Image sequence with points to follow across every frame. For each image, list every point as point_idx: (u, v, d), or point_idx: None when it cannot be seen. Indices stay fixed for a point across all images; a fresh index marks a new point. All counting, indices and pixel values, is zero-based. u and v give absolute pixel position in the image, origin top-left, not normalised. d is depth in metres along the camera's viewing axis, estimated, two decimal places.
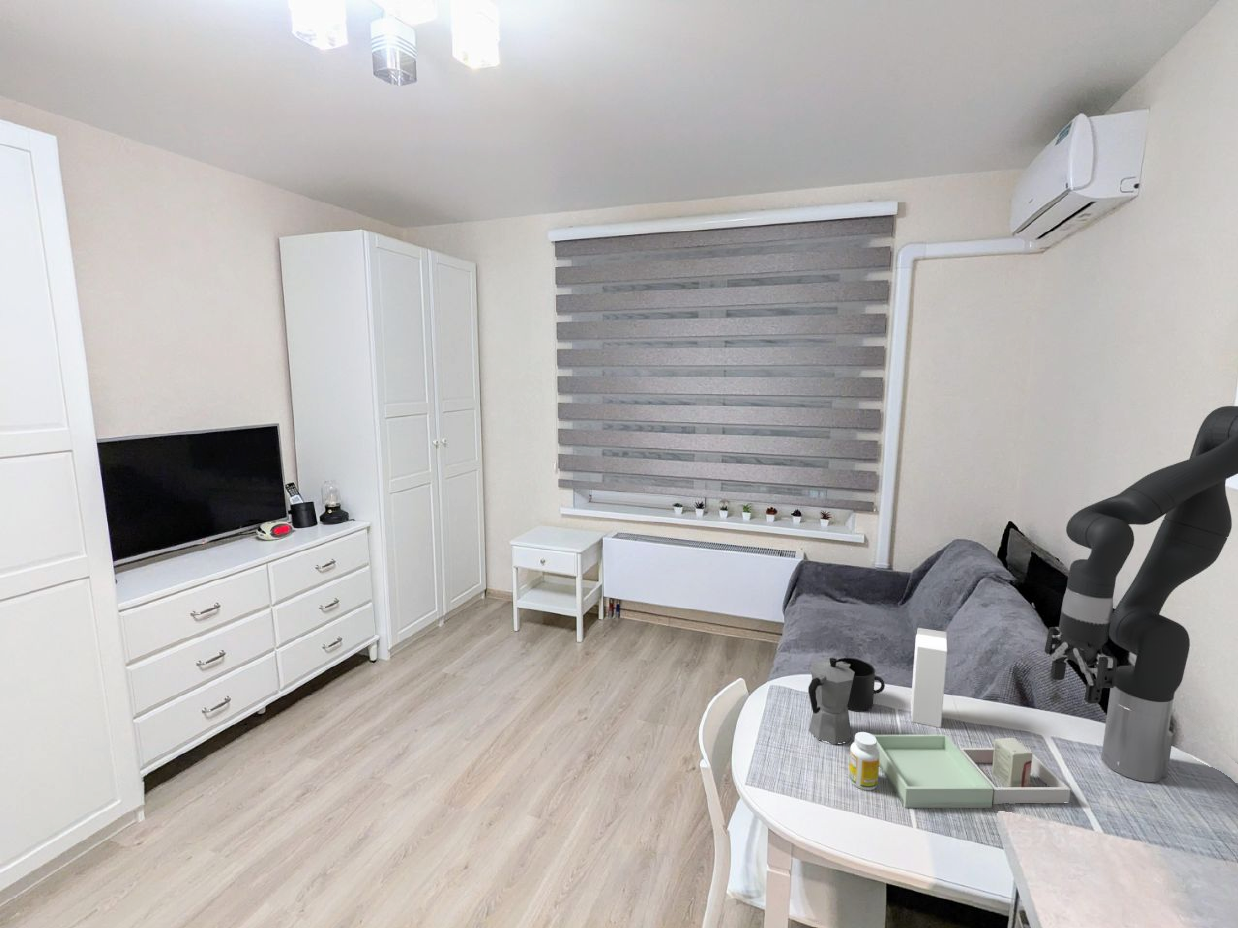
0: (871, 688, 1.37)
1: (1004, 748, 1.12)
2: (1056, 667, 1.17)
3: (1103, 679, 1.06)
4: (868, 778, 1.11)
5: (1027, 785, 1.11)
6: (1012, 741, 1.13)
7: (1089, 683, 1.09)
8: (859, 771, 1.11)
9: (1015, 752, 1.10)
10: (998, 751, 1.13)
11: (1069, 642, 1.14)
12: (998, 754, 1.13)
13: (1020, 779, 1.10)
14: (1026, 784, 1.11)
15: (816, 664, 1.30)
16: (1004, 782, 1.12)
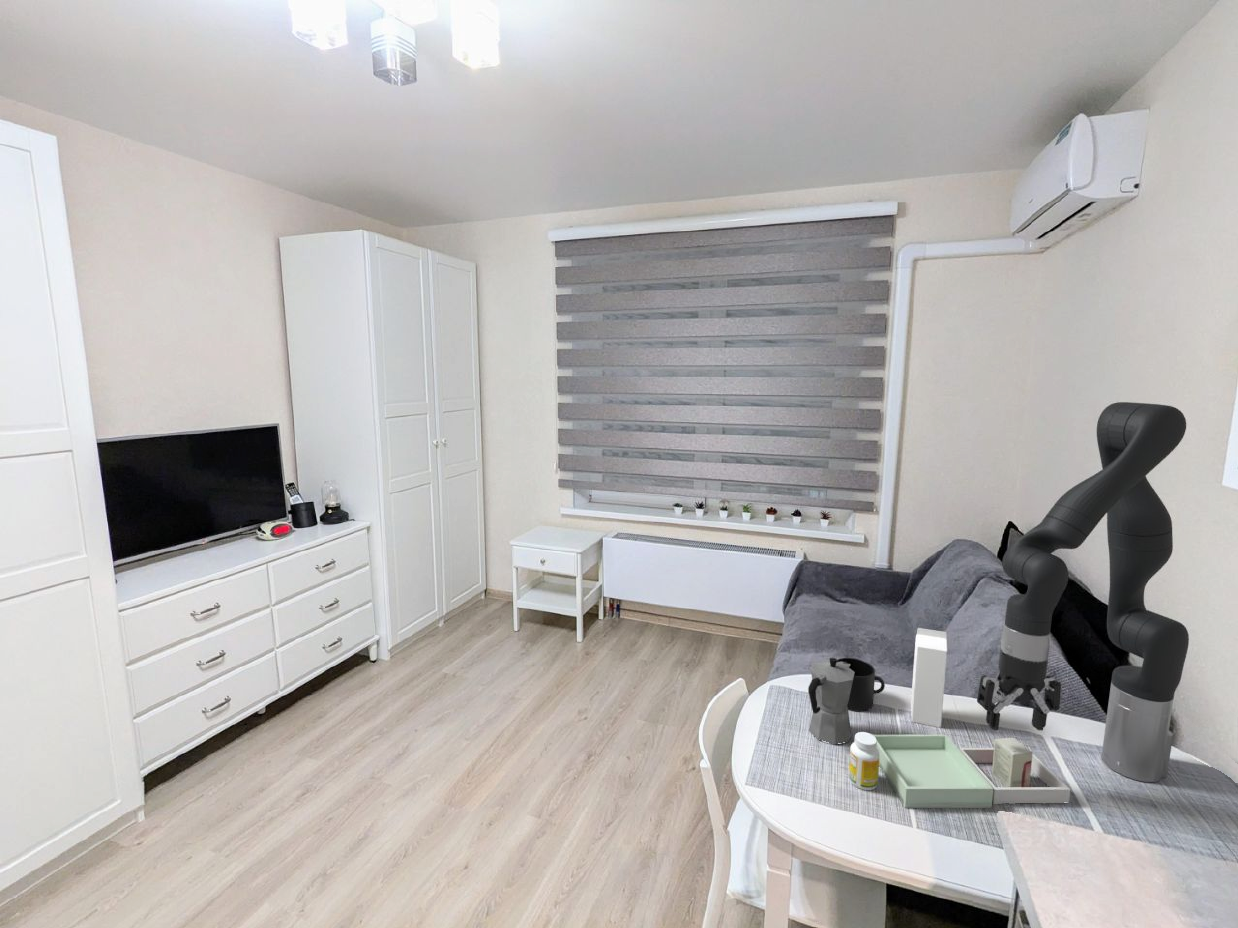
0: (871, 688, 1.37)
1: (1004, 748, 1.12)
2: None
3: None
4: (868, 778, 1.11)
5: (1027, 785, 1.11)
6: (1012, 741, 1.13)
7: (1046, 712, 1.09)
8: (859, 771, 1.11)
9: (1015, 752, 1.10)
10: (998, 751, 1.13)
11: (1018, 686, 1.08)
12: (998, 754, 1.13)
13: (1020, 779, 1.10)
14: (1026, 784, 1.11)
15: (816, 664, 1.30)
16: (1004, 782, 1.12)
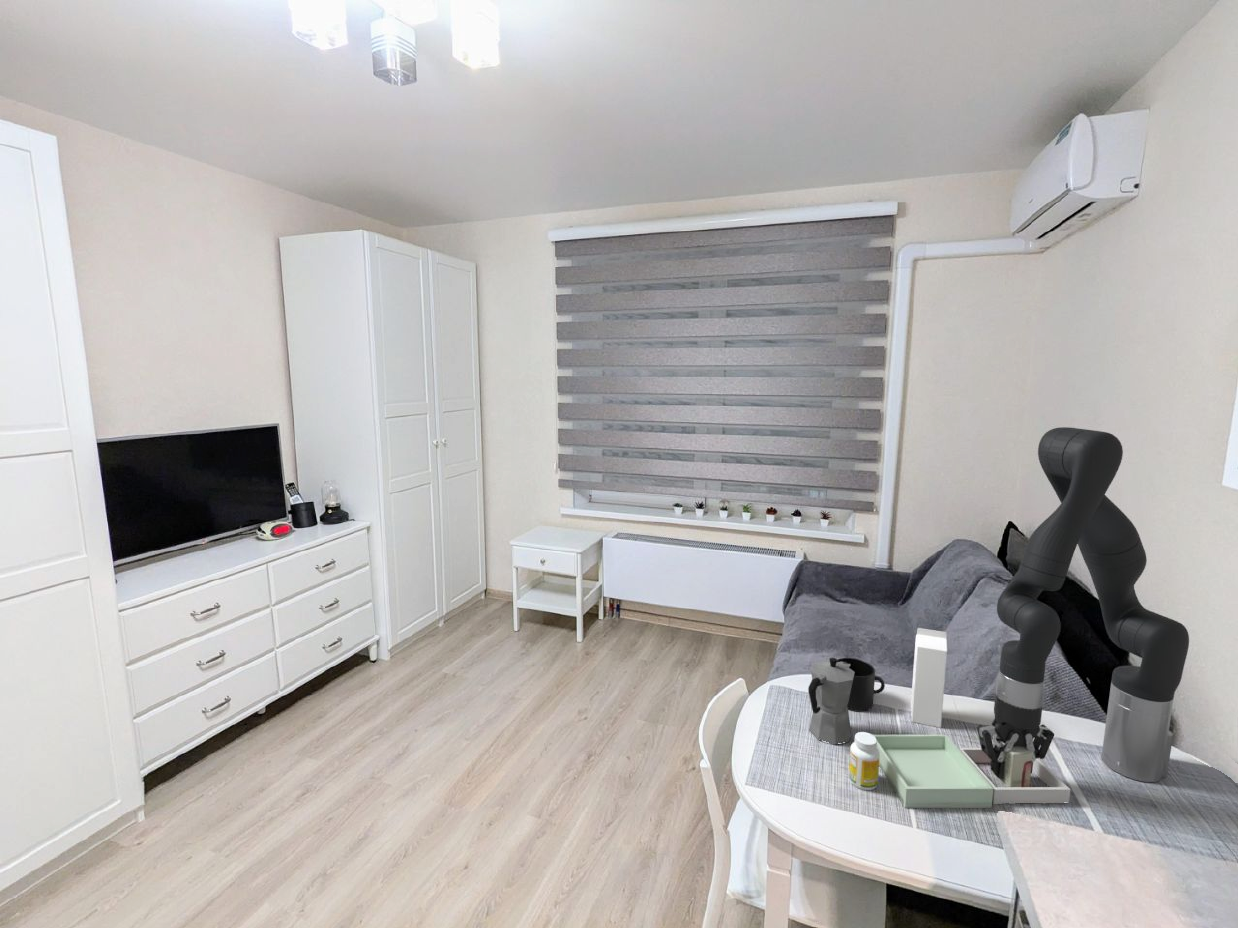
0: (871, 688, 1.37)
1: None
2: None
3: None
4: (868, 778, 1.11)
5: (1027, 785, 1.11)
6: None
7: None
8: (859, 771, 1.11)
9: (1015, 751, 1.10)
10: (998, 751, 1.13)
11: (1012, 731, 1.10)
12: None
13: (1020, 779, 1.10)
14: (1026, 784, 1.11)
15: (816, 664, 1.30)
16: (1004, 782, 1.12)
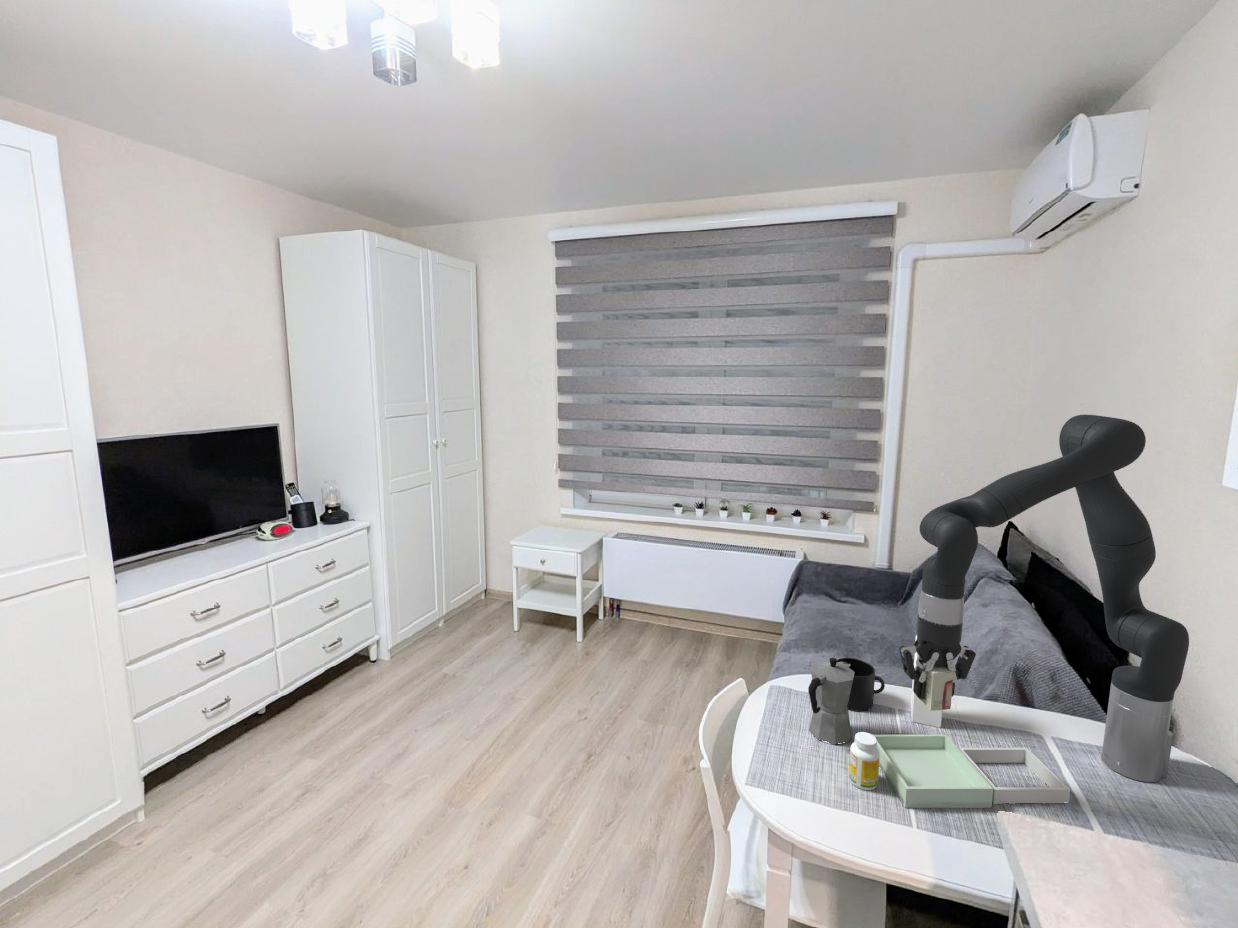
0: (871, 688, 1.37)
1: None
2: None
3: None
4: (868, 778, 1.11)
5: (948, 705, 1.09)
6: None
7: (953, 681, 1.10)
8: (859, 771, 1.11)
9: (936, 671, 1.09)
10: None
11: (933, 650, 1.09)
12: None
13: (941, 699, 1.09)
14: (947, 704, 1.09)
15: (816, 664, 1.29)
16: (926, 703, 1.10)
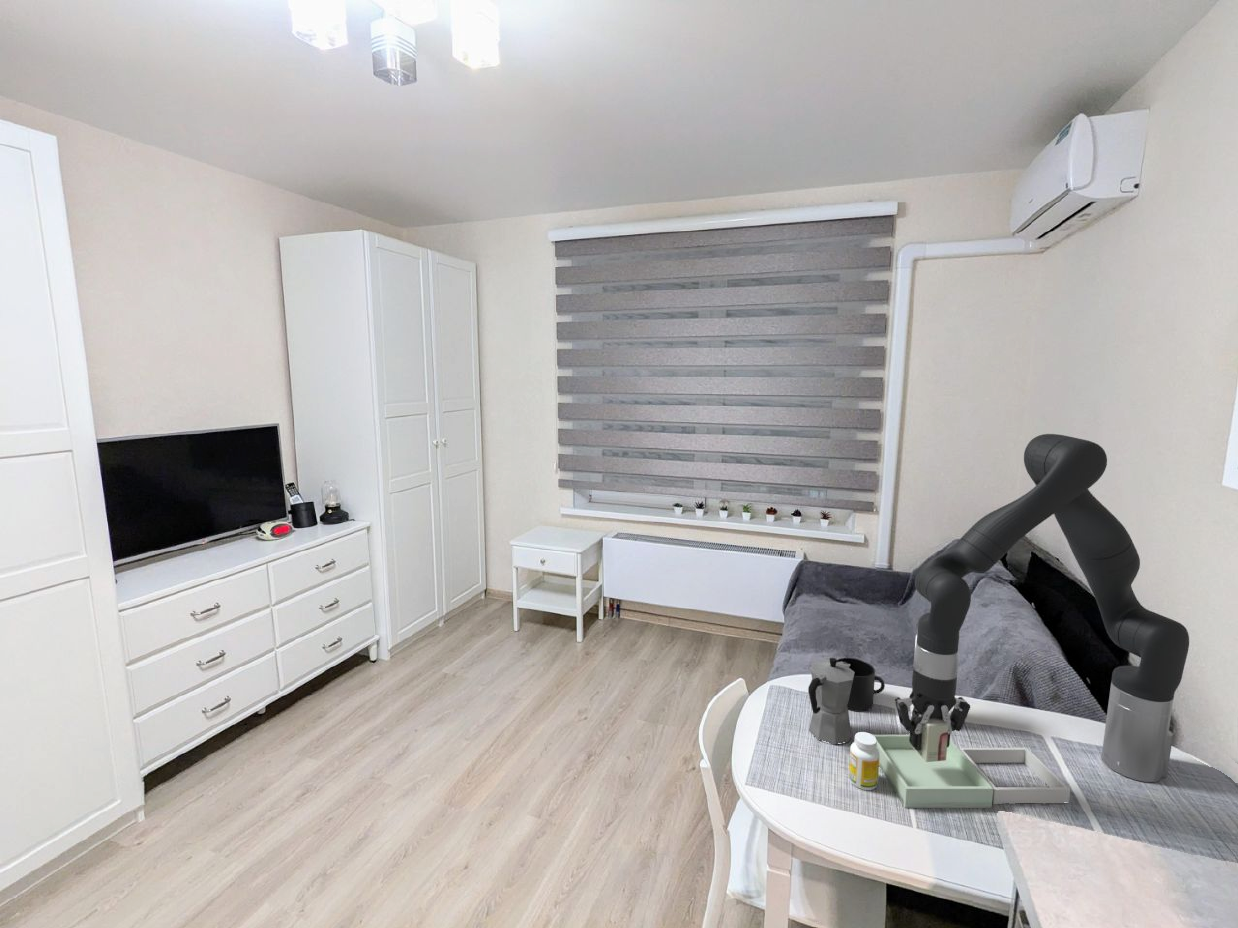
0: (871, 688, 1.37)
1: None
2: None
3: None
4: (868, 778, 1.11)
5: (944, 757, 1.11)
6: None
7: (948, 732, 1.11)
8: (859, 771, 1.11)
9: (931, 723, 1.10)
10: None
11: (928, 703, 1.10)
12: None
13: (937, 751, 1.11)
14: (943, 756, 1.11)
15: (816, 664, 1.29)
16: (921, 754, 1.12)
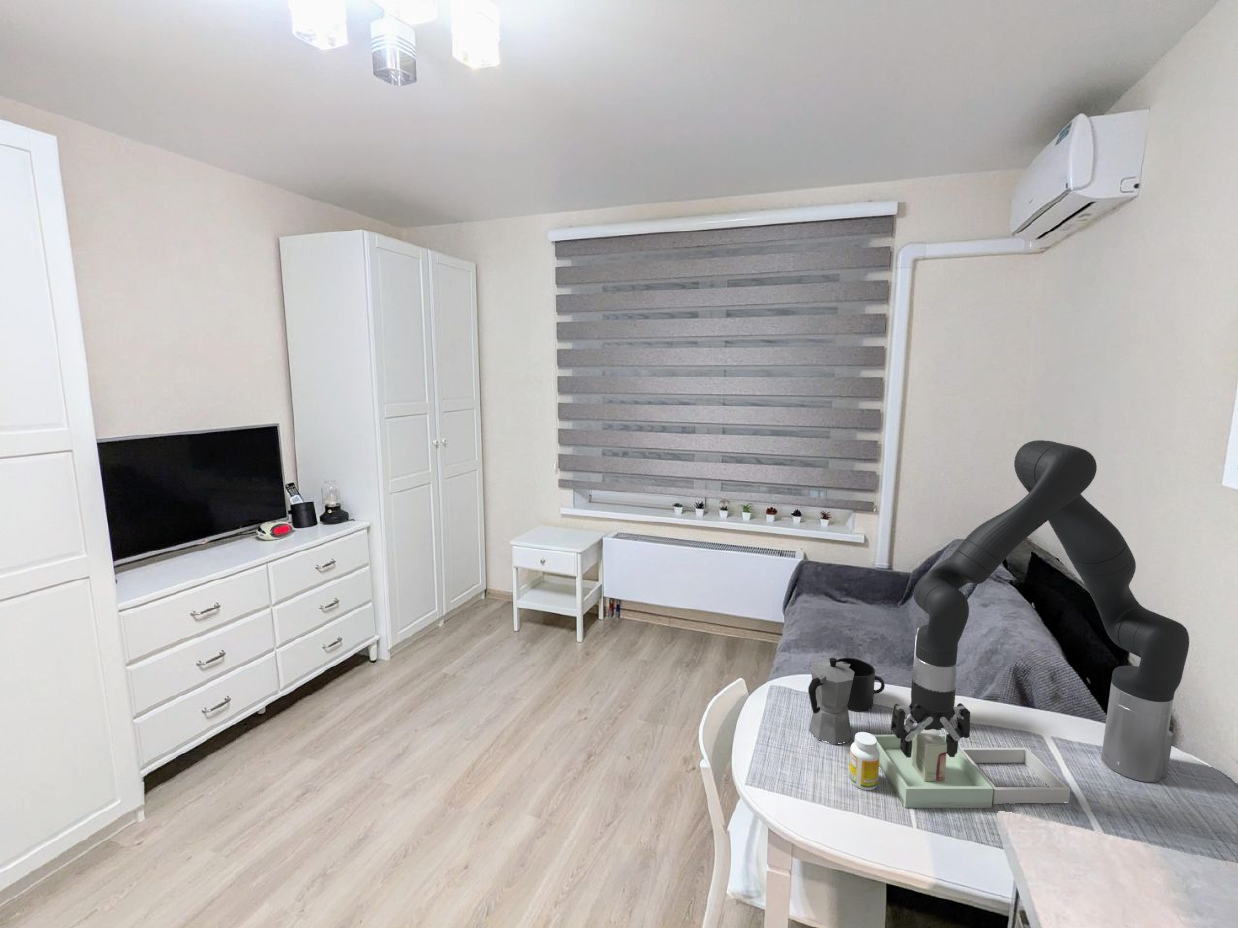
0: (871, 688, 1.37)
1: (920, 739, 1.13)
2: None
3: None
4: (868, 778, 1.11)
5: (942, 776, 1.12)
6: (930, 733, 1.14)
7: (956, 739, 1.12)
8: (859, 771, 1.11)
9: (929, 743, 1.11)
10: (915, 742, 1.14)
11: (928, 714, 1.11)
12: (915, 745, 1.14)
13: (935, 770, 1.11)
14: (941, 775, 1.12)
15: (816, 664, 1.30)
16: (920, 773, 1.13)
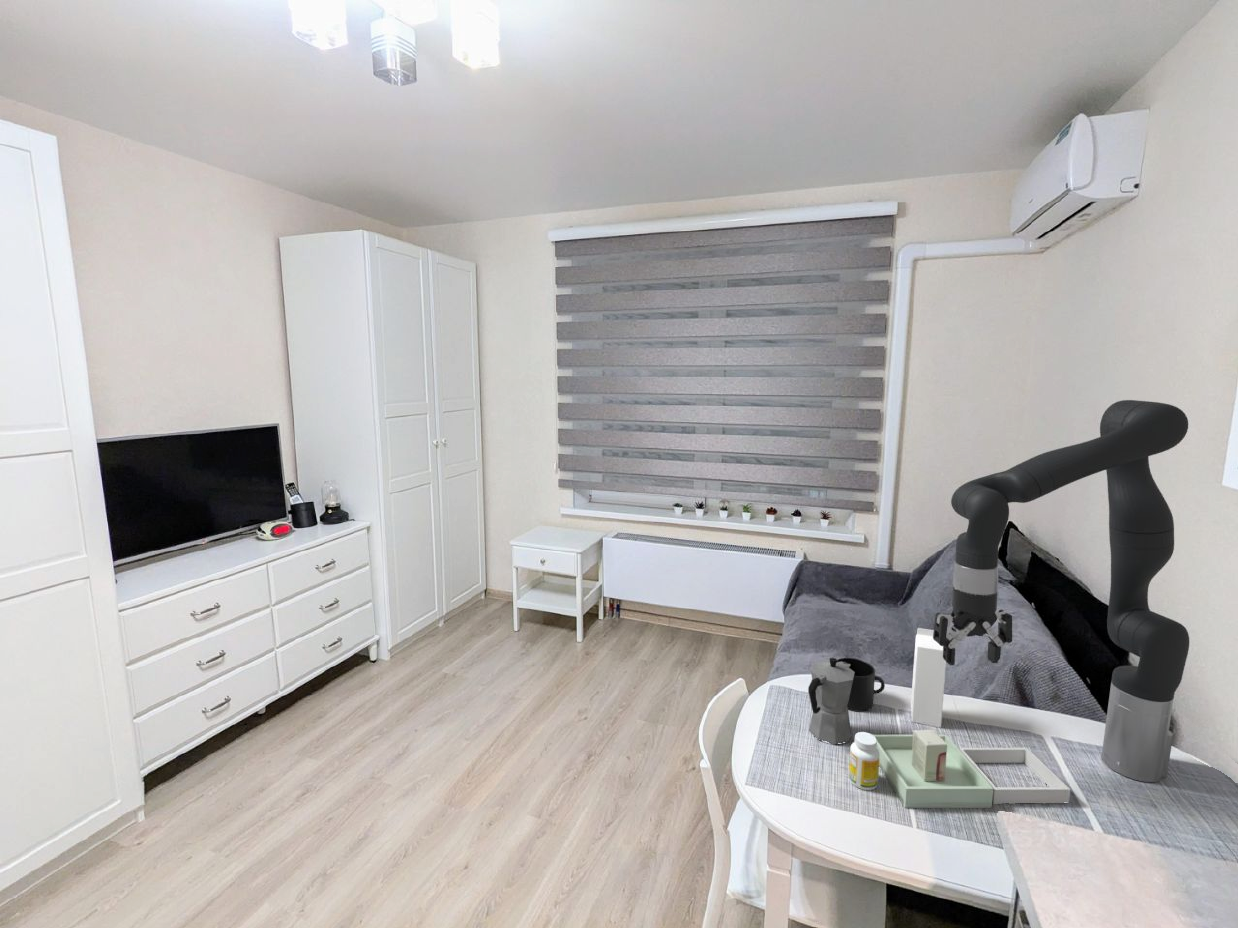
0: (871, 688, 1.37)
1: (920, 739, 1.13)
2: None
3: None
4: (868, 778, 1.11)
5: (942, 776, 1.12)
6: (930, 733, 1.14)
7: (999, 645, 1.12)
8: (859, 771, 1.11)
9: (929, 743, 1.11)
10: (916, 742, 1.14)
11: (971, 620, 1.11)
12: (916, 745, 1.14)
13: (935, 770, 1.11)
14: (941, 775, 1.12)
15: (816, 664, 1.29)
16: (920, 773, 1.13)
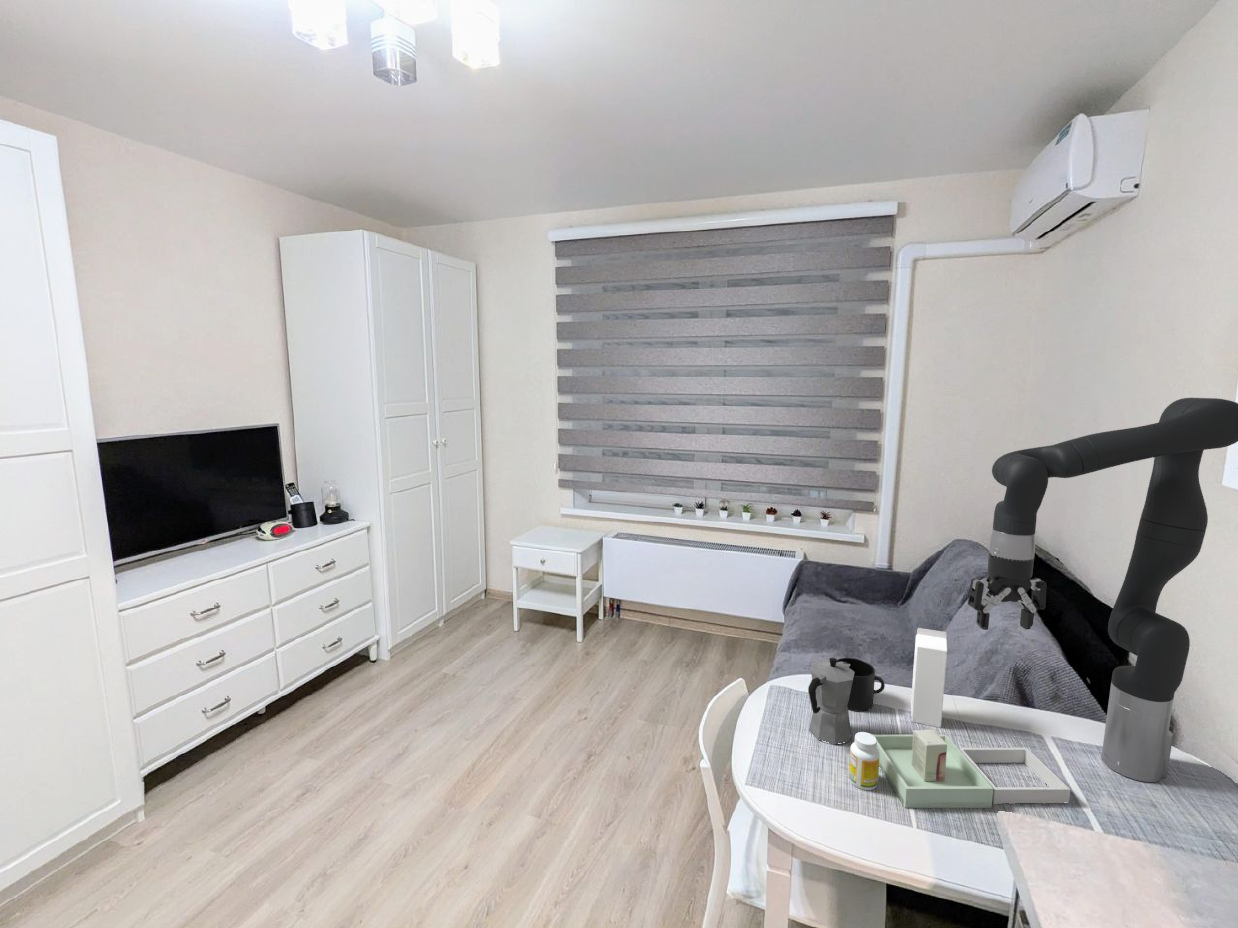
0: (871, 688, 1.37)
1: (920, 739, 1.13)
2: None
3: None
4: (868, 778, 1.11)
5: (942, 776, 1.12)
6: (930, 733, 1.14)
7: (1032, 611, 1.16)
8: (859, 771, 1.11)
9: (929, 743, 1.11)
10: (916, 742, 1.14)
11: (1006, 586, 1.15)
12: (916, 745, 1.14)
13: (935, 770, 1.11)
14: (941, 775, 1.12)
15: (816, 664, 1.30)
16: (920, 773, 1.13)
